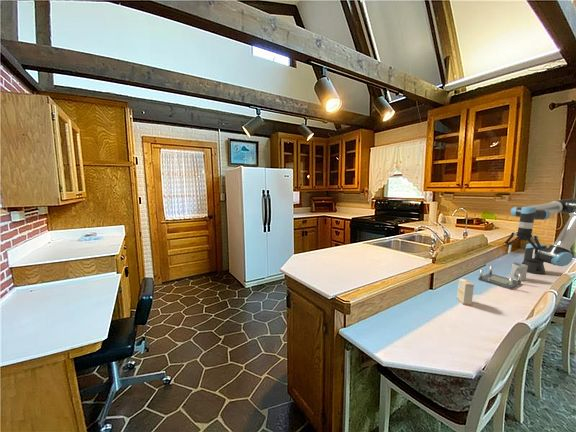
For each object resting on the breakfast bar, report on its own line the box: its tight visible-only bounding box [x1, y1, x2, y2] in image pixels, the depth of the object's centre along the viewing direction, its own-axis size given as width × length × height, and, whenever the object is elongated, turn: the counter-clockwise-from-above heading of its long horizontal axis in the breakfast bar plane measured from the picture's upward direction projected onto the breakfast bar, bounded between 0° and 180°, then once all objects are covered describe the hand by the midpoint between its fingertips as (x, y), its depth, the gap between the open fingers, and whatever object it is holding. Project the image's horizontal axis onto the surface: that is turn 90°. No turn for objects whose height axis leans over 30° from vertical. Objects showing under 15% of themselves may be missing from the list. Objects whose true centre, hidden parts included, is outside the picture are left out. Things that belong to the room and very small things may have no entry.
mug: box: [510, 262, 528, 282], centre depth 184 cm, size 12×8×11 cm
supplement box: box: [456, 278, 475, 306], centre depth 148 cm, size 8×5×13 cm, turn 168°
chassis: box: [477, 265, 522, 290], centre depth 179 cm, size 19×19×8 cm
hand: (520, 255), depth 182 cm, fingers open, 13 cm apart
